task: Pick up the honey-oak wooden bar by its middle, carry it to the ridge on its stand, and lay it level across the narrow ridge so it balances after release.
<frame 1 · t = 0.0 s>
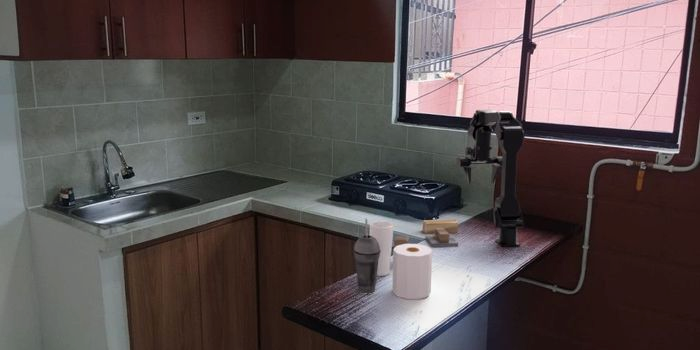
hand: (480, 183, 220), 15 cm above the countertop, fingers open, 9 cm apart
balance stand: (441, 242, 197), on the countertop
oak bar: (440, 232, 209), on the countertop
drinking glass: (380, 274, 168), on the countertop
toilet paper: (411, 292, 156), on the countertop
beverage cup: (366, 291, 156), on the countertop
wooden block: (401, 263, 177), on the countertop
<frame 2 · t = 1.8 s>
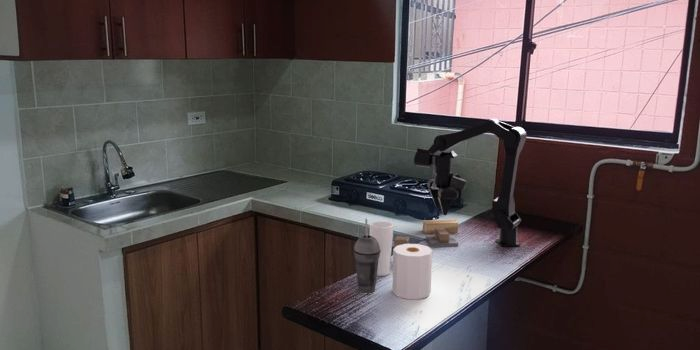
hand: (441, 211, 207), 7 cm above the countertop, fingers open, 9 cm apart
nothing on the countertop moved.
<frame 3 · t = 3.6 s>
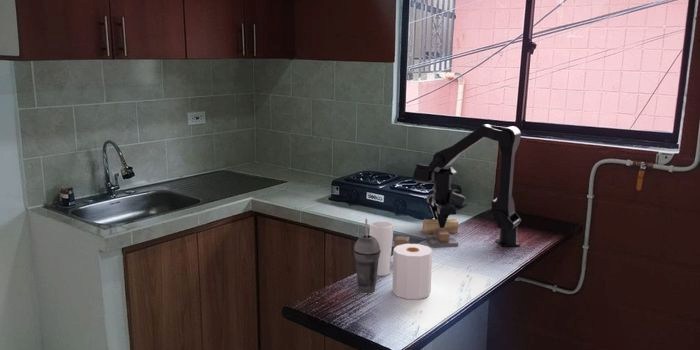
hand: (440, 227, 209), 2 cm above the countertop, fingers closed on oak bar, 4 cm apart
oak bar: (440, 231, 209), on the countertop, touching gripper
everything else where it was.
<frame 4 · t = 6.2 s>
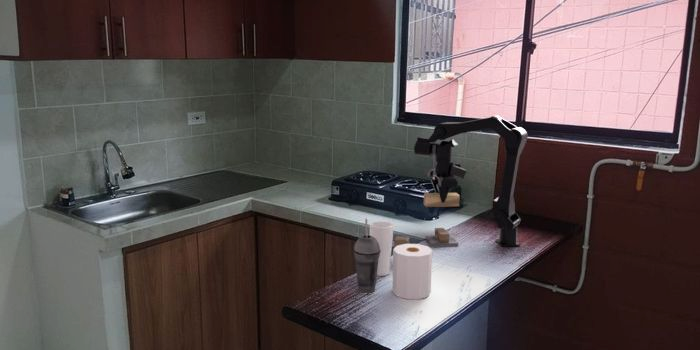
hand: (441, 200, 206), 11 cm above the countertop, fingers closed on oak bar, 4 cm apart
oak bar: (441, 205, 207), point 10 cm above the countertop, touching gripper
everything else where it was.
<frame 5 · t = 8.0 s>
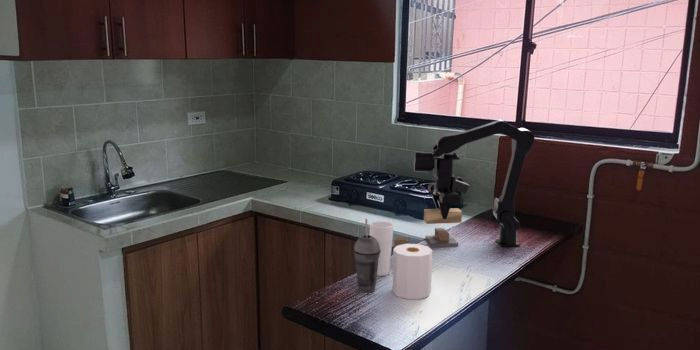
hand: (442, 217, 195), 9 cm above the countertop, fingers closed on oak bar, 4 cm apart
oak bar: (442, 221, 195), point 7 cm above the countertop, touching gripper
everything else where it was.
when the fingers open (6 cm above the countertop, at t = 9.2 s): oak bar stays where it is, resting on balance stand.
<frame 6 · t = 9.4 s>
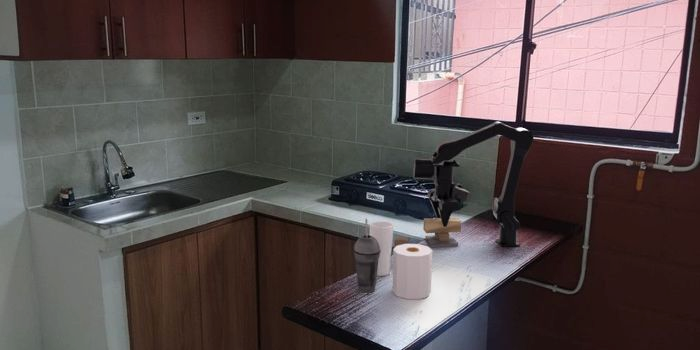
hand: (442, 223, 196), 6 cm above the countertop, fingers open, 6 cm apart
oak bar: (441, 230, 196), point 4 cm above the countertop, touching balance stand
everything else where it was.
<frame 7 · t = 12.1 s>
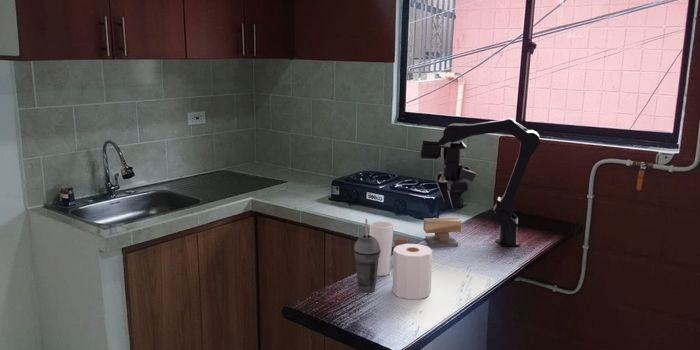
hand: (450, 205, 199), 12 cm above the countertop, fingers open, 9 cm apart
nothing on the countertop moved.
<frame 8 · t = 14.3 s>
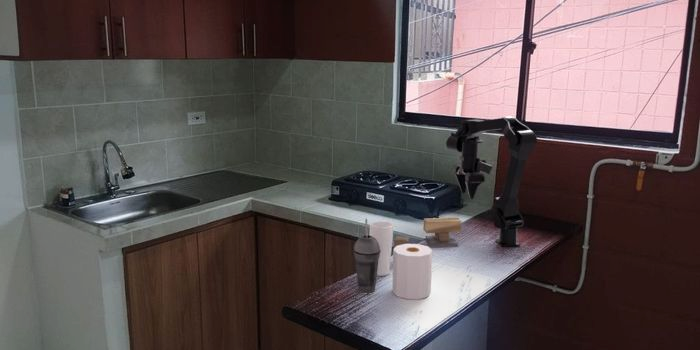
hand: (467, 195, 212), 12 cm above the countertop, fingers open, 9 cm apart
nothing on the countertop moved.
at the end: oak bar 0.0 cm off-centre on the balance stand, point 4.0 cm above the balance stand's base; oak bar tilted 0°; the gripper is holding nothing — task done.
